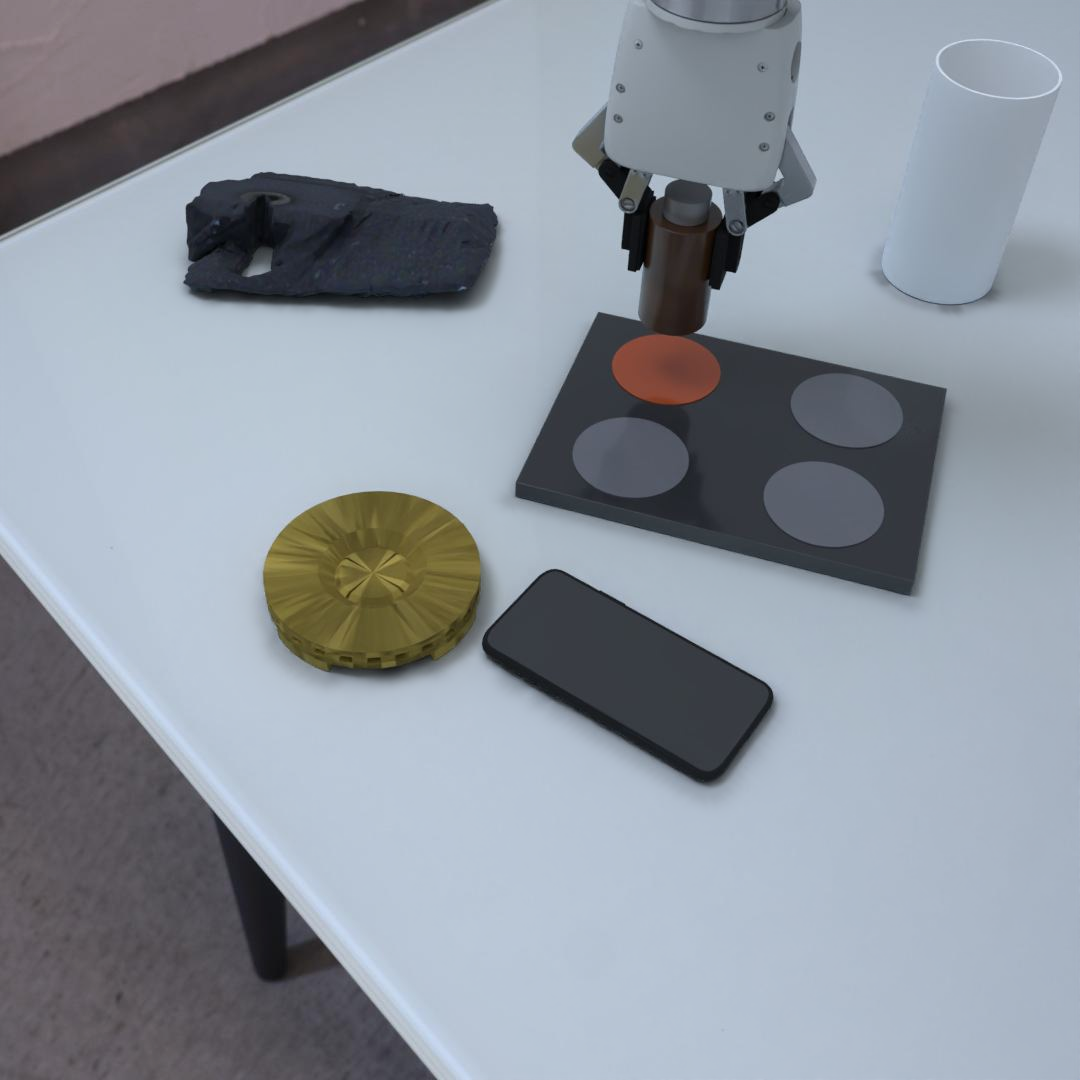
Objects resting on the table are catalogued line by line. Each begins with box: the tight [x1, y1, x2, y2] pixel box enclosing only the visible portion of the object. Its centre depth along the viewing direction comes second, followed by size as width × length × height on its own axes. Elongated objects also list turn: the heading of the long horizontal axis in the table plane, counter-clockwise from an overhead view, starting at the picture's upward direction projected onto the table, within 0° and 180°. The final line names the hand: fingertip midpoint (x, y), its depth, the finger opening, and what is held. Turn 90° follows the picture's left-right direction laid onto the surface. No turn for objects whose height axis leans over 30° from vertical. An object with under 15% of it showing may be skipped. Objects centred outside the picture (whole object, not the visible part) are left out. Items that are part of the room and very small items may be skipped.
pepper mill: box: [637, 179, 724, 336], centre depth 80 cm, size 4×4×9 cm
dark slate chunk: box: [182, 171, 499, 299], centre depth 95 cm, size 15×22×5 cm
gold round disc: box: [262, 490, 482, 672], centre depth 74 cm, size 12×12×2 cm
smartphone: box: [481, 568, 774, 783], centre depth 70 cm, size 7×1×15 cm
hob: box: [514, 311, 948, 596], centre depth 83 cm, size 24×18×1 cm
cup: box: [880, 38, 1063, 305], centre depth 92 cm, size 8×8×16 cm
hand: (679, 265), depth 81 cm, fingers closed on pepper mill, 4 cm apart
